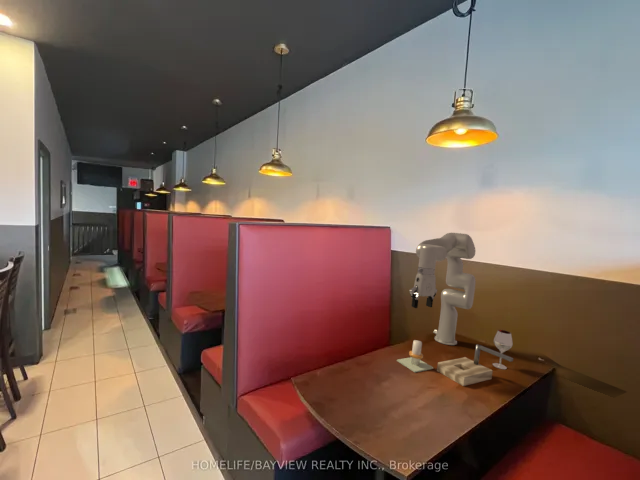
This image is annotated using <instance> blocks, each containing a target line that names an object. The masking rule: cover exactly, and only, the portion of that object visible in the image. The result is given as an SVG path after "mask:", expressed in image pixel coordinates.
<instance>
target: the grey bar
mask: <svg viewBox="0 0 640 480" xmlns="http://www.w3.org/2000/svg"><path fill="white" fill-rule="evenodd" d="M481 351H483V352H486V353H488V354H491V355H493V356H496V357H499V359H500V358H502V360H505V361H508V362H513V361H514V358H513V357H511V356H509V355H506V354H504V353H502V354H501V352H500V351H496V350H494V349H491V348H489V347H486V346H483V345H481V344H475V350H474V357H473V361H474V364H476V365H478V364H480V363H479V361H480V354H481Z"/></svg>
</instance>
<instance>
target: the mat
mask: <svg viewBox="0 0 640 480" xmlns="http://www.w3.org/2000/svg"><path fill="white" fill-rule="evenodd" d="M396 362H398V363H399V364H401V365H402V366H404V367H406V369H407V368H408V369H409V370H410V371H412V372H413V373H420V372H424V371H429V370H433V369H434V367H433V366H432V365H430V364H429V363H427V362H425V361H423V360H422V359H420V364H419V365H418V366H416V365H413V364H411V356H409V357H406V358H405V357H404V358H399V359H396Z"/></svg>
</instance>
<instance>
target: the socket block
mask: <svg viewBox="0 0 640 480" xmlns="http://www.w3.org/2000/svg"><path fill="white" fill-rule="evenodd" d="M493 371H494V369H493V370H492V369H491V368H489V367H487V366H484V365H482V364H481V363H478V365H476V364H474V360H473V359H470V358H468V357H466V356H464V357H460V358H455V359H448V360H444V361H439V362H437V367H436V372H438V373H439V374H441V375H443V376H445V377H447V378H448V379H450V380H451V381H454V382H455V383H457V384H458V385H461V386H463V387H465V386H469V385H474V384H477V383H480V382H484V381H489V380H492V378H493Z"/></svg>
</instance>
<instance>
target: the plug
mask: <svg viewBox="0 0 640 480" xmlns="http://www.w3.org/2000/svg"><path fill="white" fill-rule="evenodd" d="M422 347H423V342H422V341H421V340H416V339H414V340H413V342H412V347H411V348H412V350H409V352H408V355H409V357H411V364H413V365H416V366H418V365H419V364H420V360H423V358H424V354H423V353H422Z"/></svg>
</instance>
